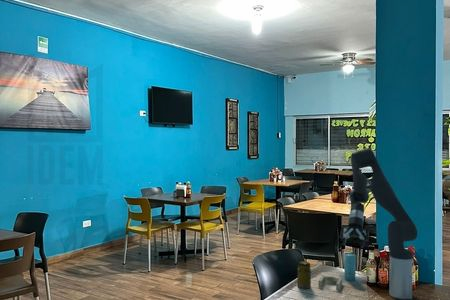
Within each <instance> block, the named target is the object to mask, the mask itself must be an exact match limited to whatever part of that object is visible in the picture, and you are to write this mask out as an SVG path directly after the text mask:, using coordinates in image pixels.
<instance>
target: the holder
mask: <svg viewBox="0 0 450 300" xmlns="http://www.w3.org/2000/svg"><path fill="white" fill-rule="evenodd" d="M343 286H344V283H343V282H342V278H340V277H339V276H331V275H324V274H322V275H321V277H320V278H319V280H318V286H317V288H319V289H324V290H331V291H335V292H336V291H337V292H341V290H342V287H343Z"/></svg>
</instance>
